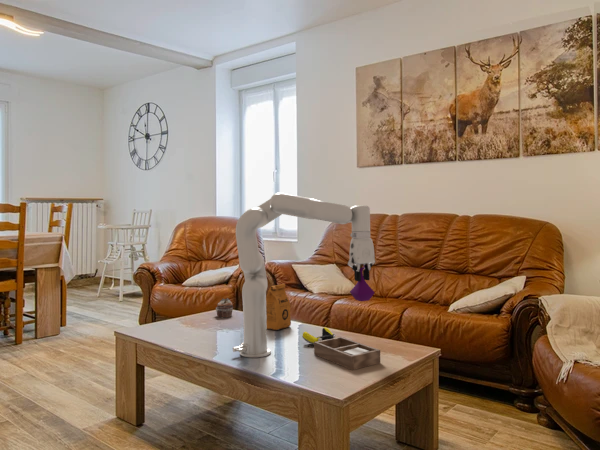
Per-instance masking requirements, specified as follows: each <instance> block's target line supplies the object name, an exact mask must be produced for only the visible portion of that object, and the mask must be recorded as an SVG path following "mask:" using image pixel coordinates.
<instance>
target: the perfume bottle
mask: <svg viewBox="0 0 600 450" xmlns="http://www.w3.org/2000/svg"><path fill="white" fill-rule="evenodd" d="M356 267H357V265H356ZM363 270H365V269H364V264H360V270H359V271H360V272H361V281H357V282H356V284H355V285H354V286H353V288H352V289H351V290H350V291H349V293H350V294H351V296H352V297H353V298H354V300H356V301H357V302H366V301H367V302H368V301H370V300H371V299H372V297H373V295H374V294H375V291H374V290H373V289H372V288H371V286H370V285H369V284H368V283H367V282H366V280H364V277H363Z"/></svg>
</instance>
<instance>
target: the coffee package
mask: <svg viewBox="0 0 600 450" xmlns="http://www.w3.org/2000/svg"><path fill="white" fill-rule="evenodd" d="M285 288H286V284H285V283H282V284H277V285H271V286H269V289H268V290H267V291H268V292H266V315H267V330H275V331H277V330H282V329H286V328H289V327H291V325H292V317H291V314H292V313H291V310H292V309H291V302H290V300H289V299H290V298H289V296H288V295H287V293H286V289H285Z"/></svg>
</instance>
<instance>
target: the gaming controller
mask: <svg viewBox="0 0 600 450" xmlns="http://www.w3.org/2000/svg"><path fill="white" fill-rule="evenodd" d="M321 334H322V335H321V336H318V337H317V336H313V335H312V334H310V333H309V332H307V331H304V332H302V335H301V336H302V339H303V340H304V341H306V343H308V344H310V345H313V346H314V342H317V341H323V340H328V339H333V338H336V334H335V333H333V332H332V331H331V330H330V329H329V328H328V327H323V328H322V330H321Z"/></svg>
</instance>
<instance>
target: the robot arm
mask: <svg viewBox="0 0 600 450" xmlns="http://www.w3.org/2000/svg"><path fill="white" fill-rule="evenodd" d="M370 209H371V208H370V206H368V205H353V206H349V205H345V204H340V203H339V204H338V203H335V202H334V203H333V202H329V201H323V200H318V199H315V198H311V197H305V196H301V195H294V194H289V193H284V192H276V193H274V194H273V195H271V197H270V198H269V199H268V200H266V201H265V202H263V203H261V204H259V205H258V206H257V207H252V208H249V209H247V210H246V211H244V213H242V215H241V216H239V218H238V220H237V222H236V225H235V240H236V248H237V254H238V261H239V262H238V263H239V267H240V269H241V271H242V272H243V276H244V283H243V285H242V288H241V290H242V291H241V298H242V310H243V311H242V317H243V319H242V322H243V323H242V324H243V342H241V344H240V345H239V346H232V352H233V353H235V352H238V353H239V354H240V356H241V357H245V358H252V359H253V358H262V357H263V358H264V357H267V356H269V355H270V354H271V351H272V350H271V348H269V347H268V334H267V333H268V332H267V330H268V329H267V315H266V296H267V291H268V277H267V273H266V272H267V271H266V265H265V259H264V257H263V254H262V253H261V252H260V250H259V243H258V238H257V230H258V229H260V228H263V227H265V226H266V225H268V224H269V223H271V222H272V221H274V220H276V219H278V218H279V217H280V216H282V215H286V216H290V217H296V218H301V219H308V220H318V221H319V220H320V221H323V222H324V221H325V222H328V223H330V222H331V223H334V224H340V225H346V224H349V223H351V233H350V237H351V239H350V245H349V260H348V261H347V266H349V267H350V268H351V269H352V271H353V273H354V275H353V276H354V281H356V282H358V281H361V272H360V271H359V270H360V264H363V267H364V269H363V272H362V273H363V277H364V280H365V281H370V271H371V268H372V267H373V265H374V264H375V263H376V259H375V255H376V254H375V247H374V246H375V245H374V243H373V242H374V241H373V239H372V238H371V210H370ZM356 265H357V267H356Z"/></svg>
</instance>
